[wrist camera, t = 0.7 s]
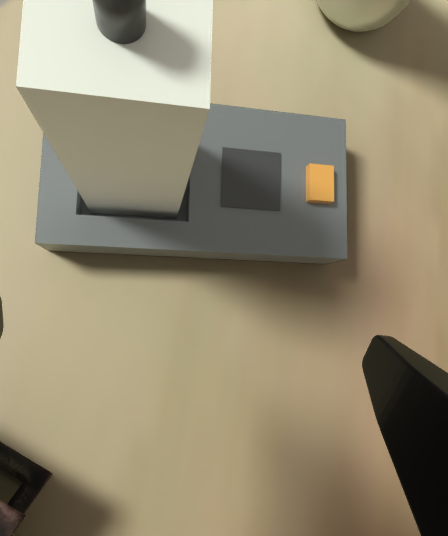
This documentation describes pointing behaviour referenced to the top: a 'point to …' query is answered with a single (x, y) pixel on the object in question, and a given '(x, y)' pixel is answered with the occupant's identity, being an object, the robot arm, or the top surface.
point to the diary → (17, 487)
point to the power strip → (224, 196)
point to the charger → (120, 95)
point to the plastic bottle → (361, 12)
